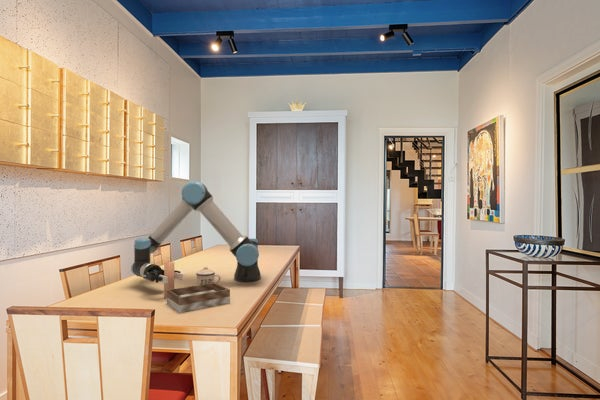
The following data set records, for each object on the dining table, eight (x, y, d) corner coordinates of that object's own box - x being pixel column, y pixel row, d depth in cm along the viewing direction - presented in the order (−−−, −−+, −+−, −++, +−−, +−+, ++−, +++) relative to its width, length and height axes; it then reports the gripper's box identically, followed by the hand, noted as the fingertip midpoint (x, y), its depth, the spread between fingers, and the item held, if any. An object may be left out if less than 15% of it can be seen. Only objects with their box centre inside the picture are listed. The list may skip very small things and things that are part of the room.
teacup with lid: (197, 293, 168) (197, 269, 168) (194, 289, 176) (194, 266, 176) (222, 290, 173) (222, 267, 173) (218, 286, 181) (218, 264, 181)
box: (214, 295, 165) (214, 282, 165) (229, 303, 152) (229, 289, 152) (166, 303, 151) (166, 289, 151) (179, 313, 138) (179, 298, 139)
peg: (172, 295, 164) (172, 261, 164) (175, 297, 160) (175, 263, 160) (162, 297, 161) (162, 262, 161) (165, 299, 157) (166, 264, 158)
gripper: (169, 276, 180) (194, 283, 165) (130, 282, 165) (153, 291, 150) (170, 261, 180) (194, 267, 165) (130, 266, 165) (153, 273, 150)
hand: (174, 278), depth 157 cm, fingers open, 7 cm apart
